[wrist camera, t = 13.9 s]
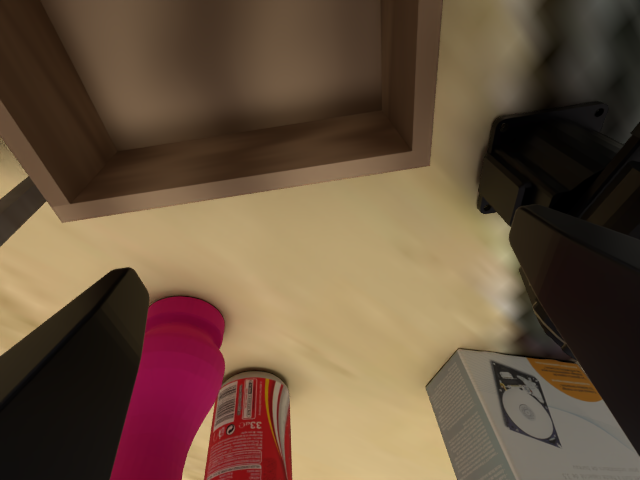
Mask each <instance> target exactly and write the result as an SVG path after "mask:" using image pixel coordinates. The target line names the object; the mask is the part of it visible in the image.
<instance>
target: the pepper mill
mask: <svg viewBox="0 0 640 480" xmlns="http://www.w3.org/2000/svg"><path fill="white" fill-rule="evenodd" d="M224 328H225V323H224V319H223V317H222V315H221V314H220V312H219V311H218V310H217V309H216V308H215V307H214V306H212V305H211V304H209V303H207V302H205V301H203V300H200V299H196V298H192V297H183V296H176V297H168V298H165V299H162V300H159V301H157V302H155V303H153V304H152V305H151V306H150V307H148V315H147V322H146V329H145V336H144V343H143V350H142V356H141V361H140V365H139V369H138V373H137V377H136V381H135V385H134V389H133V392H132V396H131V400H130V404H129V408H128V412H127V416H126V419H125V423H124V427H123V431H122V435H121V439H120V442H119V446H118V450H117V454H116V458H115V462H114V466H113V469H112V473H111V477H110V480H182V472H183V468H184V465H185V461H186V457H187V453H188V451H189V448H190V446H191V444H192V441H193V439H194V437H195V435H196V433H197V431H198V429H199V427H200V426H201V424H202V422H203V420H204V419H205V417H206V415H207V414H208V412H209V411H210V409H211V407H212V406H213V404H214V402H215V400H216V397H217V395H218V393H219V390H220V388H221V385H222V381H223V376H224V371H225V362H224V358H223V355H222V353H221V352H220V350H219V349H220V347H221V345H222V340H223V334H224Z"/></svg>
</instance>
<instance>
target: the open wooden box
mask: <svg viewBox="0 0 640 480" xmlns="http://www.w3.org/2000/svg"><path fill="white" fill-rule="evenodd" d="M442 5H443V0H0V136H1V137H2V139H3V140H4V142H5V143H6V144H7V146H8V147H9V149H10V150H11V152H12V153H13V154H14V156H15V157H16V159H17V160H18V161H19V163H20V164H21V166H22V167H23V168H24V170H25V171H26V173H27V174H28V175H29V176H28V177H27V178H26V179H25V180H23V181H22V182H21V183H20V184H18V185H17V186H16V187H15V188H14V189H12V190H11V191H10V192H9V193H8V194H6V195H5V196H4V197H3V198H1V199H0V246H2V245H3V244H4V243H5V242H6V241H7V240H8V239H9V238H10V237H11V236H12V235H13V234H14V233H15V232H16V231H17V230H18V229H19V228H20V227H21V226H22V225H23V224H24V223H25V222H26V221H27V220H28V219H29V218H30V217H31V216H32V215H33V214H34V213H35V212H36V211H37V210H38V209H39V208H40V207H41V206H42V205H43V204H44V203H45V202H46V201H47V202H48V204H49V205H50V206H51V208H52V209H53V211H54V212H55V213H56V215H57V216H58V218H59V219H60V220H61V222H62V223H64V222H70V221H77V220H83V219H89V218H96V217H102V216H109V215H115V214H122V213H128V212H135V211H141V210H148V209H154V208H161V207H167V206H173V205H180V204H186V203H193V202H199V201H206V200H212V199H219V198H225V197H232V196H238V195H244V194H251V193H257V192H264V191H270V190H277V189H283V188H290V187H296V186H303V185H309V184H316V183H322V182H328V181H335V180H341V179H348V178H354V177H361V176H367V175H374V174H380V173H387V172H393V171H400V170H406V169H412V168H419V167H425V166H430V157H431V145H432V132H433V119H434V107H435V94H436V81H437V68H438V56H439V43H440V30H441V18H442Z"/></svg>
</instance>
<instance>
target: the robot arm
mask: <svg viewBox="0 0 640 480" xmlns="http://www.w3.org/2000/svg"><path fill="white" fill-rule="evenodd" d="M598 109H599V110H598ZM597 110H598V112H597V113H596V114H595V112H596V111H597ZM607 112H608V105H606V104H604V103H602V102H592V103H586V104H579V105H573V106H566V107H560V108H554V109H547V110H541V111H534V112H528V113H521V114H515V115H508V116H502V117H499V118H498V119H496V120H495V122H494V123H493V125H492V130H491V135H490V141H489V146H488V151H487V154H486V156H485V157H484V162H483V167H482V173H481V178H480V184H479V189H478V192H479V193H480V195H479V200H478V205H477V206H478V209H479V211H480V212H481V213H483V214H489V213H495V212H497V213H498V214H499V215H500V216H501V217H502V218H503V220H504V221H505V222H506V223H507V224H508V225H509V226H510V227H511V230H510V233H509V242H510V245H511V247H512V249H513V251H514V253H515V255H516V257H517V259H518V261H519V263H520V265H521V267H520V268H519V272H520V274H521V277H522V280H523V282H524V285H525V287H526V290H527V293H528V295H529V298H530V300H531V303H532V306H533V310H534V313H535V314H536V316H537V319H538V321H539V323H540V324H541V326H542V328H543V329H544V331H545V333H546V334H547V335H548V336H549V337H551V338H552V339H553V340H554V341H555V342H556V343H557V344H558V345H559V346H560V347H561V348H562V350H563V351H564V352H565V353H566V354H567V355H569V356H571V357H572V358H574V359H575V360H577V361H578V362H579V364H580V365H581V367H582V369H583V370H584V372H585V373H586V375H587V376H588V378H589V379H590V381H591V382H592V384H593V386H594V387H595V389H596V390H597V392H598V393H599V395H600V396H601V398H602V399H603V401H604V403H605V404H606V406H607V407H608V409H609V410H610V412H611V413H612V415H613V416H614V418H615V420H616V421H617V423H618V424H619V426H620V427H621V429H622V430H623V432H624V433H625V435H626V437H627V438H628V440H629V441H630V443H631V444H632V446H633V447H634V449H635V450H636V452H637V454H638V455H639V457H640V122H639V124H638V125H637V126H636V127H635V128H634V130H633V131H632V132H631V134H632V136H631V137H630V138H629V139H628V141H627V142H626V143H625V144H622V143H620V142H618V141H616V140H614V139H612V138H610V137H608V136H606V135H604V134H602V133H600V131H601V128H602V125H603V123H604V120H605V118H606V115H607ZM504 123H505V126H504V127H503V128H502V129H500V126H501V125H502V124H504ZM486 205H488V206H487V207H485V206H486ZM484 207H485V208H484ZM148 307H149V294H148V291H147V289H146V287H145V286H144V284H143V283H142V281H141V279H140V278H139V276H138V275H137V273H136V271H135V270H134V269H132V268H129V267H127V268H121V269H115V270H112V271H110V272H109V273H108V274H106V275H105V276H104V277H102V278H101V279H100V280H99V281H97V282H96V283H95V284H93V285H92V286H91V287H89V288H88V289H87V290H86V291H84V292H83V293H82V294H80V295H79V296H78V297H76V298H75V299H74V300H73V301H71V302H70V303H69V304H67V305H66V306H65V307H64V308H62V309H61V310H60V311H58V312H57V313H56V314H54V315H53V316H52V317H51V318H49V319H48V320H47V321H45V322H44V323H43V324H42V325H40V326H39V327H38V328H36V329H35V330H34V331H32V332H31V333H30V334H29V335H27V336H26V337H25V338H23V339H22V340H21V341H20V342H18V343H17V344H16V345H14V346H13V347H12V348H10V349H9V350H8V351H7V352H5V353H4V354H3V355H1V356H0V480H110V477H111V473H112V469H113V466H114V462H115V458H116V454H117V450H118V446H119V442H120V439H121V435H122V431H123V427H124V423H125V419H126V416H127V412H128V408H129V404H130V400H131V396H132V392H133V389H134V385H135V381H136V377H137V373H138V369H139V365H140V361H141V356H142V350H143V343H144V336H145V329H146V322H147V315H148Z"/></svg>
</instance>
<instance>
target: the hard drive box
mask: <svg viewBox="0 0 640 480" xmlns="http://www.w3.org/2000/svg"><path fill="white" fill-rule="evenodd" d="M426 390H427V393H428V396H429V399H430V402H431V405H432V408H433V411H434V413H435V416H436V419H437V422H438V425H439V428H440V431H441V434H442V437H443V440H444V443H445V446H446V449H447V452H448V455H449V458H450V461H451V463H452V466H453V469H454V472H455V475H456V478H457V480H640V457H639V455H638V454H637V452H636V450H635V449H634V447H633V446H632V444H631V443H630V441H629V440H628V438H627V437H626V435H625V433H624V432H623V430H622V429H621V427H620V426H619V424H618V423H617V421H616V420H615V418H614V416H613V415H612V413H611V412H610V410H609V409H608V407H607V406H606V404H605V403H604V401H603V399H602V398H601V396H600V395H599V393H598V392H597V390H596V389H595V387H594V386H593V384H592V382H591V381H590V379H589V378H588V376H587V375H586V374H585V372H584V371H583V370H582V368H581V367H580V366H579V364H574V363H566V362H560V361H557V360H552V359H534V358H527V357H518V356H511V355H503V354H498V353H495V352H487V351H482V352H481V351H473V350H464V349H458V350H457V351H456V352H455V354H454V355H453V356H452V357H451V358H450V360H449V361H448V362H447V363H446V364H445V365H444V367H443V368H442V369H441V370H440V371H439V372H438V374H437V375H436V376H435V377H434V378H433V380H432V381H431V382H430V383H429V384H428V385H427V387H426Z"/></svg>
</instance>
